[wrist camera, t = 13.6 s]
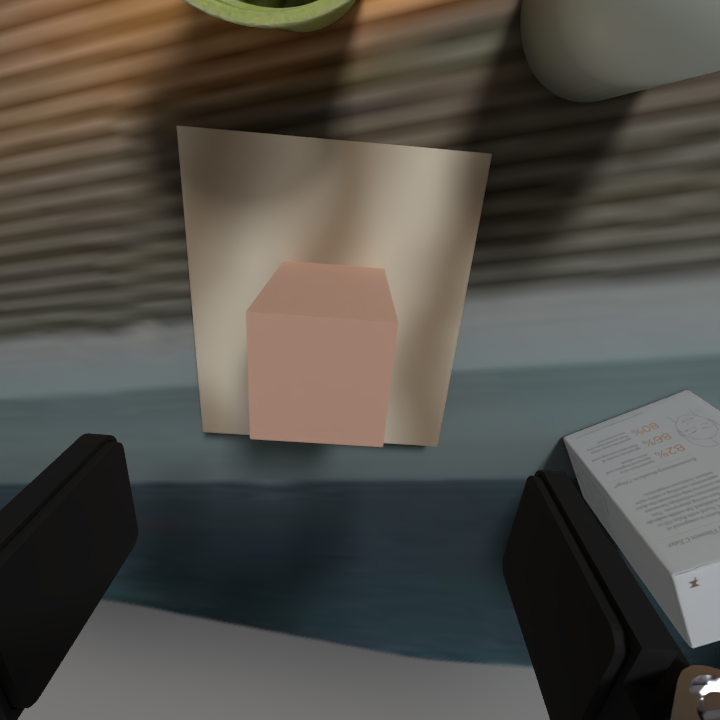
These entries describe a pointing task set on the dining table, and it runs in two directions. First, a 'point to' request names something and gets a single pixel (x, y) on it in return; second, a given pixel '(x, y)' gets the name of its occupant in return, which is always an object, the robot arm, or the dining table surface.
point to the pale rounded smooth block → (618, 44)
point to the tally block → (321, 355)
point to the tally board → (329, 252)
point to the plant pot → (276, 12)
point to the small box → (661, 502)
